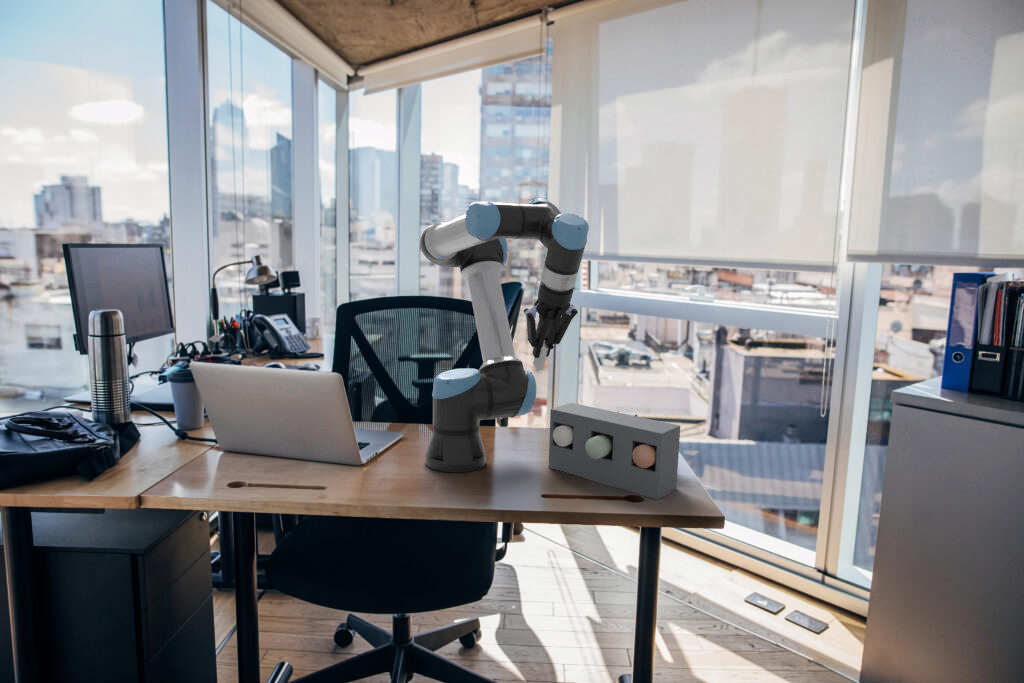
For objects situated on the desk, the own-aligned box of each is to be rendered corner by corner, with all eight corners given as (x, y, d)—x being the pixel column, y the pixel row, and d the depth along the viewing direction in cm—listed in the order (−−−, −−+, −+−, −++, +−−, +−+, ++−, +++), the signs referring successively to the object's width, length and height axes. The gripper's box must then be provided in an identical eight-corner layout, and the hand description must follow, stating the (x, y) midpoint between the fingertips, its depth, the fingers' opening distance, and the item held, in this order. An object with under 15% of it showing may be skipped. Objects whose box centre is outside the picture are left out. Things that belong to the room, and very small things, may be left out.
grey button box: (657, 499, 143) (661, 433, 141) (548, 467, 162) (550, 409, 160) (676, 488, 150) (680, 425, 148) (569, 459, 169) (571, 402, 167)
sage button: (603, 461, 148) (604, 440, 147) (584, 456, 151) (585, 435, 150) (612, 457, 151) (613, 436, 150) (594, 452, 154) (595, 432, 154)
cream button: (569, 448, 157) (570, 428, 156) (552, 444, 160) (553, 424, 159) (578, 445, 160) (579, 425, 159) (562, 440, 163) (562, 421, 162)
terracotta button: (651, 470, 143) (653, 448, 142) (631, 465, 146) (632, 443, 145) (660, 466, 146) (661, 444, 145) (640, 460, 149) (641, 439, 148)
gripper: (537, 294, 138) (518, 379, 152) (591, 290, 143) (568, 373, 157) (524, 275, 144) (507, 359, 157) (576, 272, 149) (555, 354, 162)
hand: (537, 366), depth 157 cm, fingers closed
